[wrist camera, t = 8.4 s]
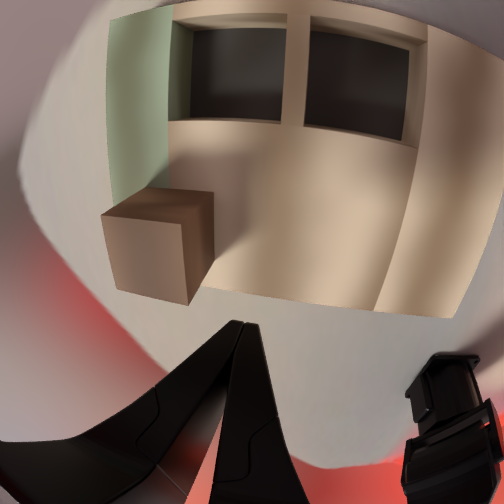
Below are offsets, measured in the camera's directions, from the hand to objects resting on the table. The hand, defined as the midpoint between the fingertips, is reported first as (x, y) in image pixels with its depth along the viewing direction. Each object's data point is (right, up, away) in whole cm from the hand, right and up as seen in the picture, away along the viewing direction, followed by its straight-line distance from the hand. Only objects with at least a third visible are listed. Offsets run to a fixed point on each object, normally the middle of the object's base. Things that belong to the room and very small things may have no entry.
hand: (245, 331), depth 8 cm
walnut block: (-4, +4, +7) cm, 9 cm away
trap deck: (+3, +8, +6) cm, 11 cm away
